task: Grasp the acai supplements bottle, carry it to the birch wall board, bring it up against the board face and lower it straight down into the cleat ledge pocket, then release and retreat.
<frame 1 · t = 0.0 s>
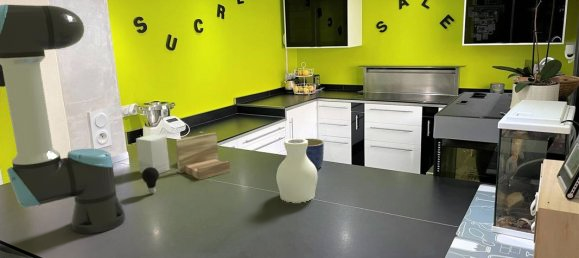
hand: (12, 119, 156), 28 cm above the countertop, fingers open, 13 cm apart
mug: (201, 159, 198), on the countertop
cleat board: (199, 168, 185), on the countertop
light bulb: (152, 194, 156), on the countertop
supplement box: (154, 172, 182), on the countertop
planter: (309, 167, 182), on the countertop
vase: (297, 197, 150), on the countertop
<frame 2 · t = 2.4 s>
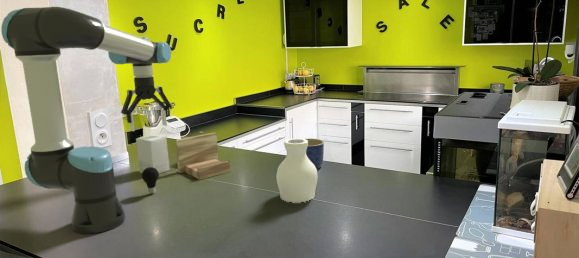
hand: (149, 127, 178), 19 cm above the countertop, fingers open, 13 cm apart
nothing on the countertop moved.
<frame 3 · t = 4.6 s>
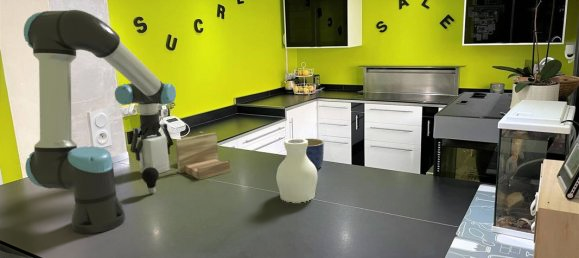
hand: (154, 164, 182), 3 cm above the countertop, fingers closed on supplement box, 10 cm apart
supplement box: (155, 171, 182), on the countertop, touching gripper
everything else where it was.
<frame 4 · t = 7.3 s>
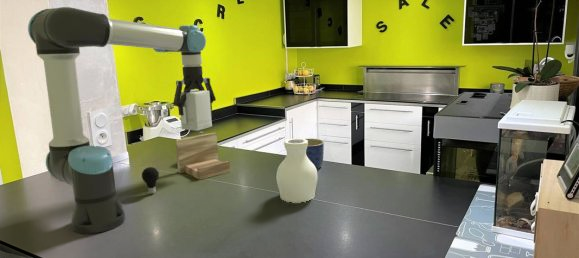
hand: (196, 120, 174), 22 cm above the countertop, fingers closed on supplement box, 10 cm apart
supplement box: (197, 128, 175), point 19 cm above the countertop, touching gripper
everything else where it was.
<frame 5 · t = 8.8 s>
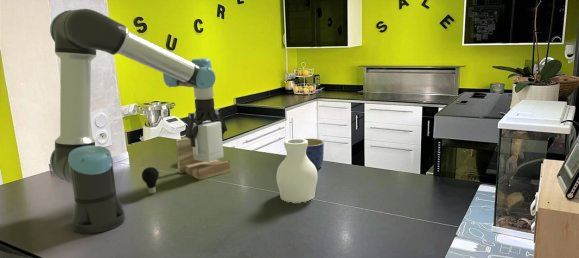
hand: (208, 151, 176), 9 cm above the countertop, fingers closed on supplement box, 10 cm apart
supplement box: (208, 158, 177), point 6 cm above the countertop, touching gripper
everything else where it was.
when the fingers open (7 cm above the countertop, at t = 10.2 s): supplement box drops 1 cm, resting on cleat board.
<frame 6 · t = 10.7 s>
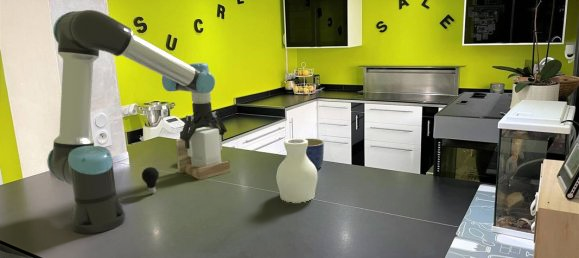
hand: (205, 152, 178), 8 cm above the countertop, fingers open, 13 cm apart
supplement box: (206, 165, 179), point 3 cm above the countertop, touching cleat board
everything else where it was.
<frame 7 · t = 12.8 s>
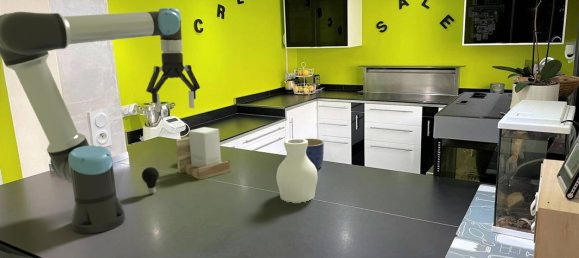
hand: (175, 109, 162), 29 cm above the countertop, fingers open, 13 cm apart
nothing on the countertop moved.
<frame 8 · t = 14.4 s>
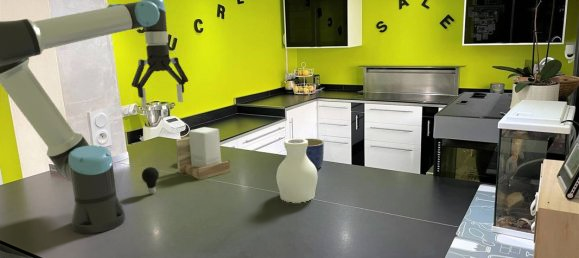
hand: (162, 104, 156), 32 cm above the countertop, fingers open, 13 cm apart
nothing on the countertop moved.
at the end: supplement box inside the target area on the cleat board (0.8 cm from its centre), point 2.8 cm above the cleat board's base; supplement box tilted 0°; the gripper is holding nothing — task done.
